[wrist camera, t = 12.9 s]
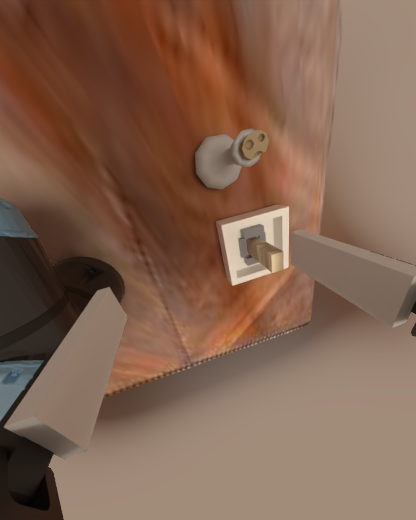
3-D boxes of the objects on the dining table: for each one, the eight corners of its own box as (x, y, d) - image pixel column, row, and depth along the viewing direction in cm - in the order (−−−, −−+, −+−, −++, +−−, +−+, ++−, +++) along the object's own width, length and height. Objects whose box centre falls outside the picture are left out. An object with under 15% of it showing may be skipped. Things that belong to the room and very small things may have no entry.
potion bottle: (240, 173, 35) (303, 161, 19) (206, 197, 35) (239, 205, 19) (221, 128, 31) (280, 63, 15) (182, 155, 31) (198, 121, 15)
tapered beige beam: (247, 252, 42) (272, 273, 32) (245, 238, 40) (271, 255, 30) (256, 250, 42) (283, 269, 32) (255, 235, 40) (283, 251, 30)
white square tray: (226, 276, 44) (232, 285, 40) (215, 221, 38) (221, 225, 34) (277, 260, 46) (288, 267, 42) (276, 204, 39) (288, 206, 35)
